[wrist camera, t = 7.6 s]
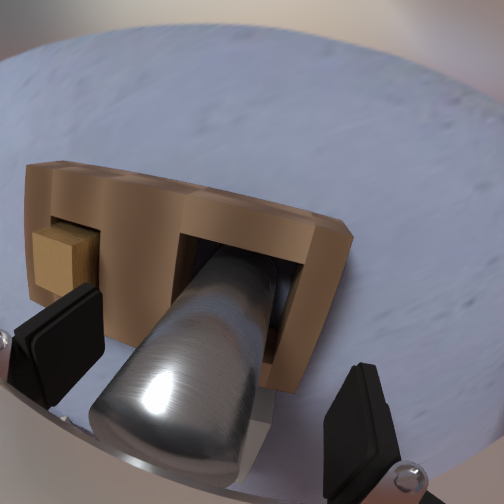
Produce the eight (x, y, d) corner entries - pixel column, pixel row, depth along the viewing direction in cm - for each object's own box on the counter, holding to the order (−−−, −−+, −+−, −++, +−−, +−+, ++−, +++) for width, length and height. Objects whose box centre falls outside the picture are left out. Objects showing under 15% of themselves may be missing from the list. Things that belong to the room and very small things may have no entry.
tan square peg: (85, 256, 18) (35, 284, 13) (86, 212, 17) (32, 231, 12) (121, 268, 18) (73, 301, 13) (124, 222, 17) (71, 246, 12)
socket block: (59, 280, 20) (30, 299, 16) (62, 160, 17) (26, 164, 13) (296, 357, 18) (294, 393, 15) (341, 220, 15) (354, 237, 12)
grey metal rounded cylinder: (202, 297, 18) (99, 457, 7) (214, 234, 17) (77, 371, 5) (267, 315, 18) (225, 503, 6) (284, 252, 16) (256, 434, 5)
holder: (151, 423, 23) (137, 451, 20) (152, 351, 20) (131, 381, 17) (249, 453, 22) (242, 483, 19) (276, 387, 19) (271, 424, 16)
